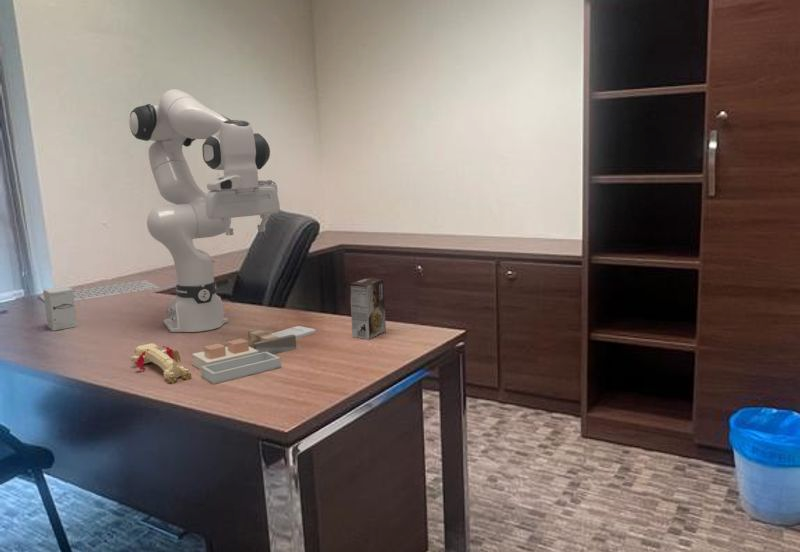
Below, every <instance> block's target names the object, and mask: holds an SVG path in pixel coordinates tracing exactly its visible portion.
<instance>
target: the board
mask: <svg viewBox="0 0 800 552" xmlns="http://www.w3.org/2000/svg"><path fill="white" fill-rule="evenodd" d="M225 351H226V356H223V357H219V358H214V359H210V358H208V357H206V356H205V354H204V350H203V351H199V352H194V353H191V356H192V357H191V360H192V365H193V366H194V367H196V368H197V369H199V370H201V368H200V367H201V366H206V365H210V364H214V363H219V362H223V361H227V360H232V359H236V358H240V357H245V356H249V355H253V354H258V353H259V351H258V350H256V349H254V347H252V346H249V351H245V352H241V353H236V354H234V353H232V352H230V351H228V345H227V346H225Z"/></svg>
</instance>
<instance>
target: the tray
mask: <svg viewBox="0 0 800 552" xmlns="http://www.w3.org/2000/svg"><path fill="white" fill-rule="evenodd" d="M200 368H201V369H200V376H201V378H203V379H205V380H206V381H208V382H210V383H211V384H213V385H216V384H219V383H223V382H228V381H232V380H235V379H239V378H244V377H247V376H252V375H256V374H259V373H264V372H267V371H271V370H276V369H280V368H282V363H281V357H280V356H277V355H276V354H271V353H269V352H267V351H266V352H262V353H258V354H253V355H249V356H245V357H240V358H236V359H232V360H227V361H223V362H219V363H214V364H210V365H206V366H201V367H200Z"/></svg>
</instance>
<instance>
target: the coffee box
mask: <svg viewBox="0 0 800 552" xmlns="http://www.w3.org/2000/svg"><path fill="white" fill-rule="evenodd" d="M384 283H385V282H384V279H383V278H382V279H380V278H379V279H378V278H375V277H365V278H362V279H359V280H357V281H353V282H351V283H349V293H350V296H349V297H350V312H351V313H350V315H351V332H352V333H351V334H352V338H355V337H358V338H357V339H362V338H365V339H364V340H372V339H373V337H374V338H376V337H377V335H378V334H380V333H382V332H384V333H386V332H385V331H387V329H386V328H387V327H386V325H387V324H386V305H385V304H386V303H385V286H384V285H385V284H384ZM382 334H383V333H382ZM380 335H381V334H380ZM375 336H376V337H375ZM378 336H379V335H378ZM371 338H372V339H371Z"/></svg>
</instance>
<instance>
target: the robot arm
mask: <svg viewBox="0 0 800 552" xmlns="http://www.w3.org/2000/svg"><path fill="white" fill-rule="evenodd" d="M128 123H129V128H130V132H131V134H132V136H134V138H135V139H136V140H141V141H144V142H148V141H153V143H152V144H150V146H149V149H148V160H149V165H150V169H151V172H152V174H153V178H154V181H155V183H156V185H157V186H156V187H157V189H158V192H159V194H160V196H161V197H162V198H163V199H164V200H165V201H167V202H169V203H171V204H168V205H163V206H159V207H156V208H153V209H152V210H150V212H149V214H148V216H147V220H146V227H147V230H148V232H149V235H151V236H152V238H153V239H154V240H155V241H158V242H159V243H161V244H162V245H163V246H164V247H165V248H166V249H167V251H169V254H170V255H171V257H172V259H173V262H174V269H175V273H176V281H177V283H176V286H175V296H176V297H175V298H174V299H173V300H172V302H171V303H170V305H169V307H167V308H166V315H167V316H170V317H169V318H165V319H164V320H163V324H164V326H166V328H167V329H168V331H169V332H170V333H181V332H182V333H190V332H191V333H196V332H198V333H199V332H206V331H211V330H216V329H218V328H220V327H222V326H223V325H224V324H226V323H228V322H229V318H228V317H225V316H224V315H225V314H224V310H223V303H222V302H223V301H222V299H221V296H220V295H217V284H216V281H215V278H214V277H215V276H214V265H213V258H212V257H211V256H210V254H208V252H206V251H203V250H201V249H198V248H196V247H195V245H194V241H193V240H194V239H204V238H212V237H216V236H219V235H222V234H225V235H226V236H233V235H234V228H233V227H230V226H231V224H232V218H243V217H252V216H253V217H254V216H259V217H260V219H261V221H260V223H259V224H258V225H257V226H256V227H257V231H258V232H259V233H260V232H262V233H263V232H266V225H267V222H268V220H269V215H273V214H275V215H276V214H278V213H279V212H280V210H281V205H280V200H279V195H278V185H277V183H276V182H274V181H273V180H272V179H268V180H259V175H258V173H259V172H258V170H261V169H262V168H264V166H265V165H266V164H267V163H268V161H269V159H270V156H271V149H270V145H269V143H268V141H267V140H266V139H265V138H264V137H263V136H262V134H260V133H255V132H254V131H253V128H252V125H251V123H250V122H248V121H246V120H238V119H230V118H229V117H226V116H225V115H222V114H220V113H218V112H216V111H214V110H212V109H211V108H208V107H207V106H205V105H204V104H202V102H200V101H198V100H197V99H196V98H195V97H193V95H191V94H189V93H188V92H186V91H184V90H181V89H177V88H176V89H175V88H171V89H168V90H167V91H165V92H164V93H163V94H162V95H161V96H160V99H159V104H158V105H154V104H152V105H151V103H148V104H144V105H140V106H137V107H134V109H132V111H131V112H130V115H129V122H128ZM196 140H205V141H203V144H202V158H203V160H204V163H205V164H206V165H207V166H208V167H209V168H210V169H212V170H217V171H223V175H222V176H221V177H218V178H216V179H214V180H211V181H208V182H207V183H206V189H207V190H208V191H207V193H205V192H204V191H203V190H202V189H201V187H199V186H198V184H197V183H196V180H195V179H194V176H193V175H192V172H191V169H190V167H189V165H188V162H187V160H186V158H185V156H184V153H183V146H184V147H185V148H186V147H190V146H191V145H192V143H193V142H194V141H196Z"/></svg>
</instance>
